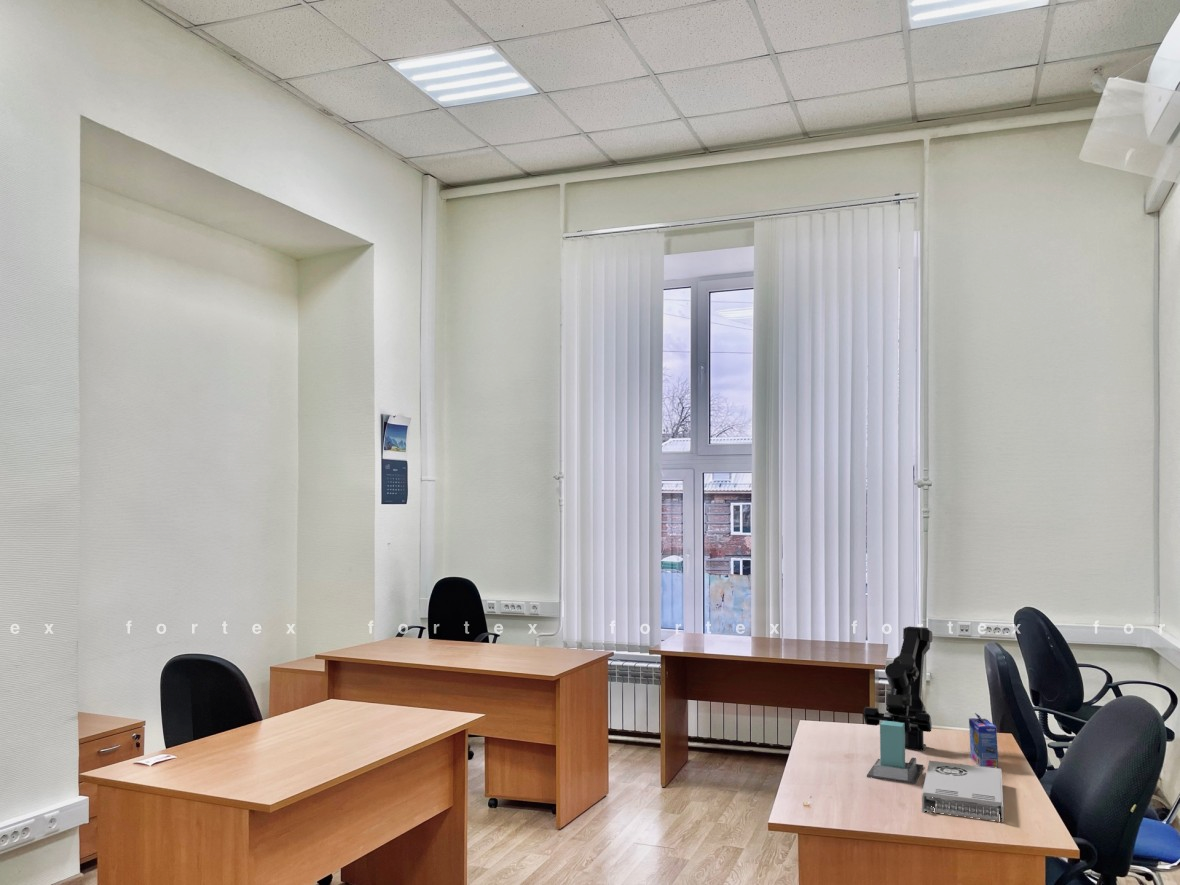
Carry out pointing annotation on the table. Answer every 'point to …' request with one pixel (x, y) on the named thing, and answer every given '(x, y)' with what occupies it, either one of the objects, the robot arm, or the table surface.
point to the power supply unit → (963, 790)
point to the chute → (897, 772)
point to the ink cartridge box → (983, 742)
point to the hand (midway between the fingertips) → (894, 744)
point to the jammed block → (892, 744)
